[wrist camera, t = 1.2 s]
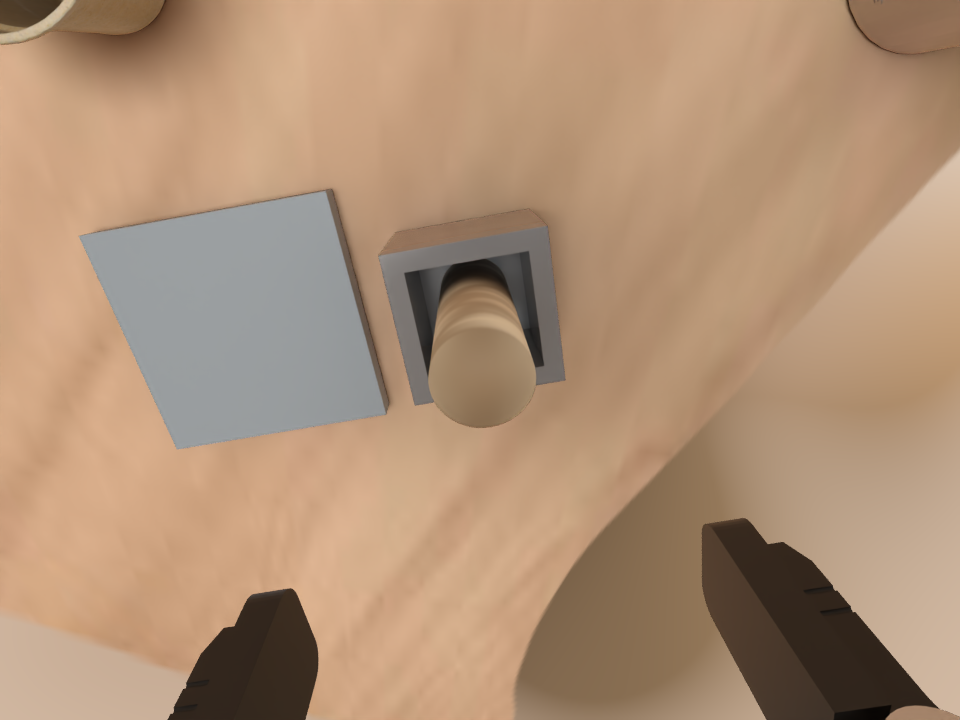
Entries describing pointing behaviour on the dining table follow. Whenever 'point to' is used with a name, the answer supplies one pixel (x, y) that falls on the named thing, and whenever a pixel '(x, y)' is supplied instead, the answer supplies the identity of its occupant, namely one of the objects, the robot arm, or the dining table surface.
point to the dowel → (479, 349)
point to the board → (243, 318)
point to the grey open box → (432, 250)
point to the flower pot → (73, 17)
